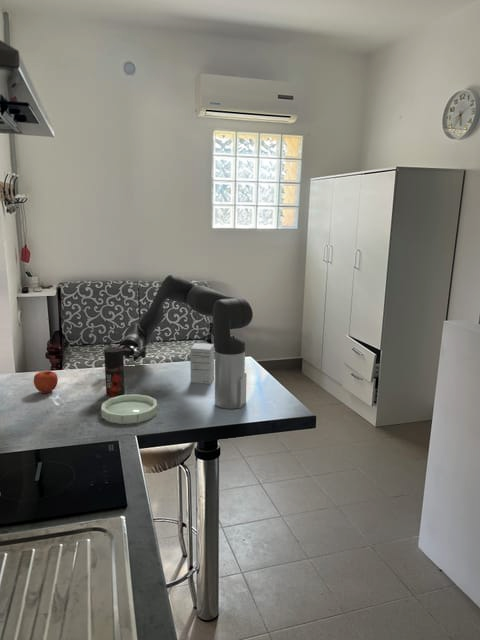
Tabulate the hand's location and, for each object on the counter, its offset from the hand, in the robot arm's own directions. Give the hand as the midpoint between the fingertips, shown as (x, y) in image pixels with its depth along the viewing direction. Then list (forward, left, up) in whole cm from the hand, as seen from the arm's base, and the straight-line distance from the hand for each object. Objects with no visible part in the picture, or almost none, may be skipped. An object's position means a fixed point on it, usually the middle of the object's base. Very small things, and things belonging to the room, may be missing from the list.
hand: (121, 358), depth 168 cm
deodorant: (-4, +11, -9) cm, 14 cm away
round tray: (-16, +23, -9) cm, 29 cm away
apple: (+18, +17, -9) cm, 27 cm away
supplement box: (-26, -11, -9) cm, 29 cm away
